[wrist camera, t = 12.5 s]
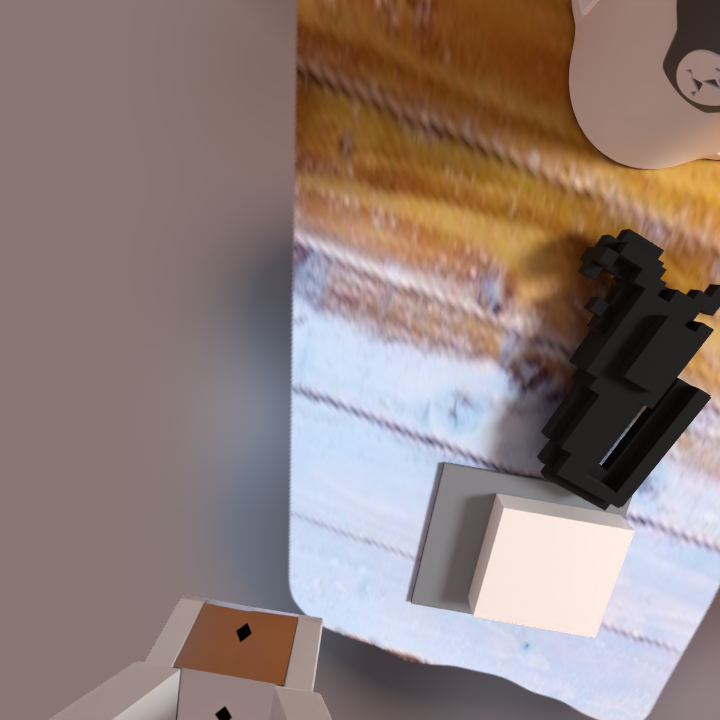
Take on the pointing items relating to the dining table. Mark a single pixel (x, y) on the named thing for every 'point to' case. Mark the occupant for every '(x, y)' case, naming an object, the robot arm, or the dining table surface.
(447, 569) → the mat
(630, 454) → the tool
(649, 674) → the dining table surface
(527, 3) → the dining table surface
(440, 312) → the dining table surface
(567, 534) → the tile
